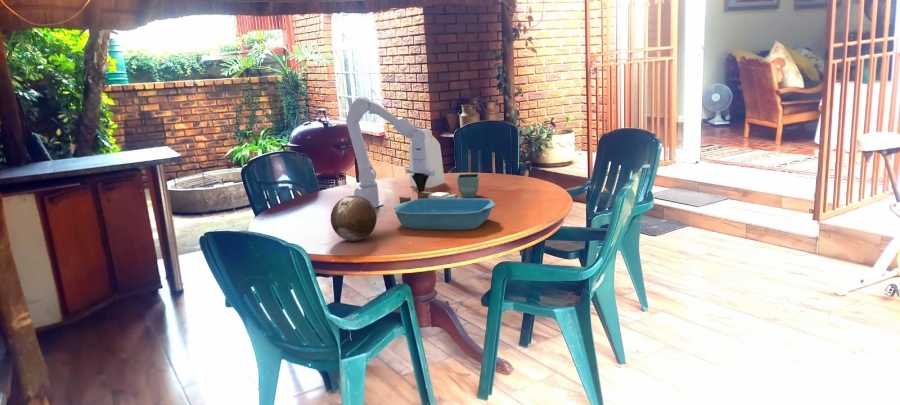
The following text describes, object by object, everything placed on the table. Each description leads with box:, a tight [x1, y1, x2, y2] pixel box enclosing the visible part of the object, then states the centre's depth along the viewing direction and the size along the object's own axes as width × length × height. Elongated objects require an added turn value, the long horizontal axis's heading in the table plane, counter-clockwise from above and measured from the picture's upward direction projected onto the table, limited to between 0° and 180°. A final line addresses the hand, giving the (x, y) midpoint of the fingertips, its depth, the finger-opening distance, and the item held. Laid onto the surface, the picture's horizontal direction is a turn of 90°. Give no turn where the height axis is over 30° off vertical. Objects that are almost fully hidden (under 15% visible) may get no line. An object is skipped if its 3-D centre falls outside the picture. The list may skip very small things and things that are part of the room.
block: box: [428, 191, 450, 198], centre depth 254 cm, size 6×6×4 cm
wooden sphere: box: [330, 195, 378, 242], centre depth 209 cm, size 15×15×15 cm
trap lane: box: [398, 190, 461, 204], centre depth 258 cm, size 24×21×4 cm
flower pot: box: [456, 173, 480, 198], centre depth 264 cm, size 9×9×9 cm
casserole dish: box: [393, 197, 496, 231], centre depth 224 cm, size 37×22×7 cm, turn 70°
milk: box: [408, 128, 446, 188], centre depth 295 cm, size 12×12×26 cm
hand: (421, 191), depth 259 cm, fingers closed
